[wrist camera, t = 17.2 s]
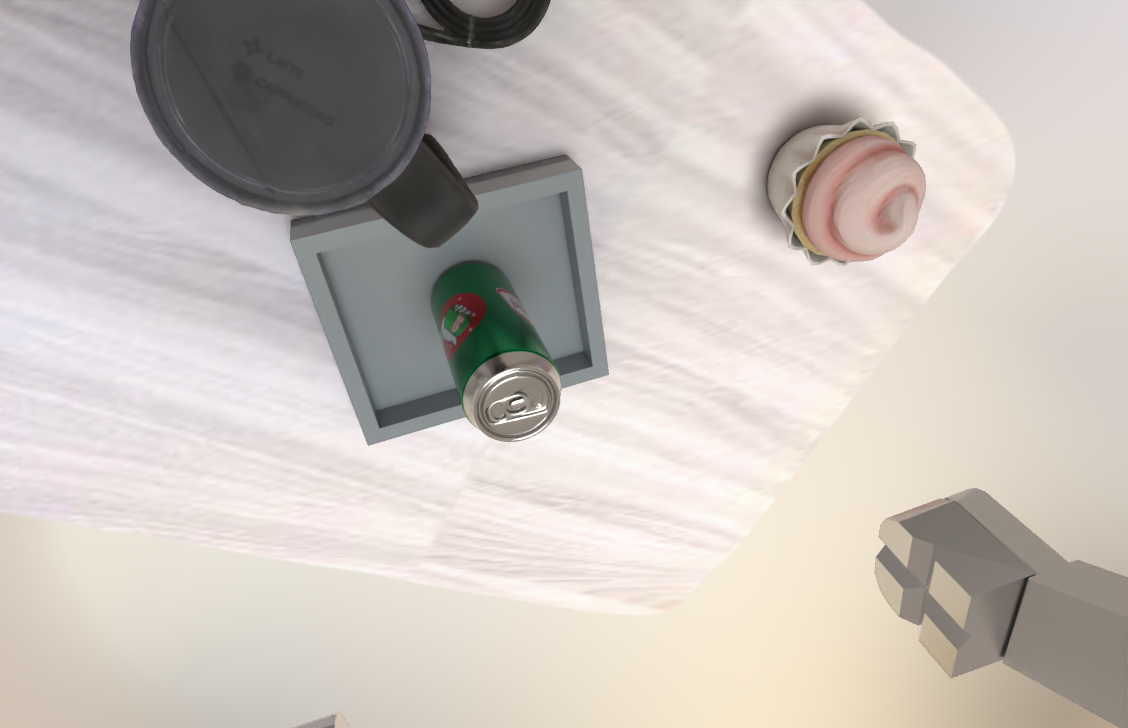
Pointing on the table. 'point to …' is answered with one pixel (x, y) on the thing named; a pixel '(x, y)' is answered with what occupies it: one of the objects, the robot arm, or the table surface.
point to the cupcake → (847, 191)
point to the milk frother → (312, 102)
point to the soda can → (495, 354)
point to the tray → (411, 272)
